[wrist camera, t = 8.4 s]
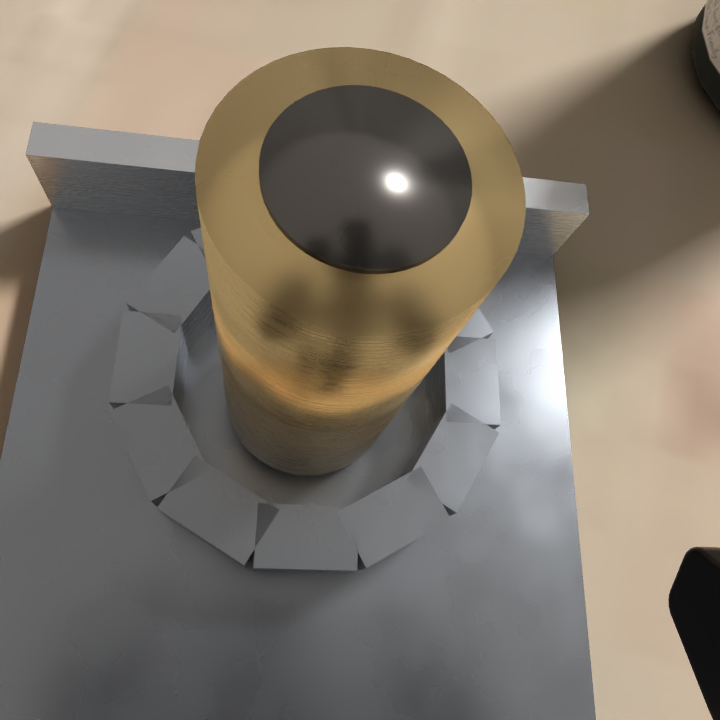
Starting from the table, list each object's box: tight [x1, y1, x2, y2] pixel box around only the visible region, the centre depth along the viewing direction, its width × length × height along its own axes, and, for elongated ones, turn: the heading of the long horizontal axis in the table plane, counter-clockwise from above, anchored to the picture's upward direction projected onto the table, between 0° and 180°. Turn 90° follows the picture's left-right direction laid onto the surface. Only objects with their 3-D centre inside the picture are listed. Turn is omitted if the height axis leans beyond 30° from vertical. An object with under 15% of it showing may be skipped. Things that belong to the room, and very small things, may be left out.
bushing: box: [195, 47, 526, 476], centre depth 13 cm, size 4×4×10 cm
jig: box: [0, 122, 596, 720], centre depth 17 cm, size 14×15×3 cm
